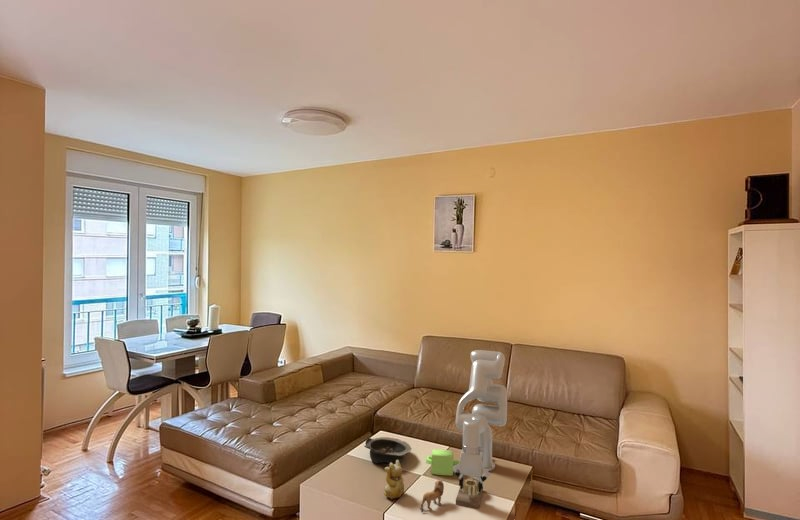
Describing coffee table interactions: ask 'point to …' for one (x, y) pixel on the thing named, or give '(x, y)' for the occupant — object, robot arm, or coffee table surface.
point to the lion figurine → (433, 495)
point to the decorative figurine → (394, 481)
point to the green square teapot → (442, 462)
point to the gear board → (469, 499)
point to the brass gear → (470, 487)
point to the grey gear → (474, 479)
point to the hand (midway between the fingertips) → (470, 488)
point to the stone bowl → (387, 449)
